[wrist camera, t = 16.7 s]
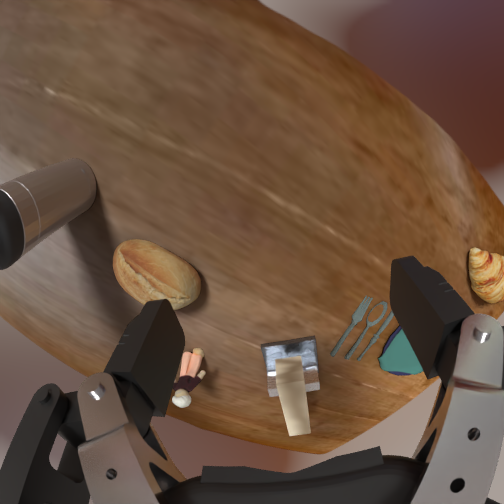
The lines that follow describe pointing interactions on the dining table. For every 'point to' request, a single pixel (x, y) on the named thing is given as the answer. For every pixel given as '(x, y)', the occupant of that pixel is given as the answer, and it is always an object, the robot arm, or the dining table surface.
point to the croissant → (487, 275)
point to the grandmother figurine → (188, 377)
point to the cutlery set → (395, 351)
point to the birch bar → (293, 394)
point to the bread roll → (155, 274)
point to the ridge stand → (291, 349)
